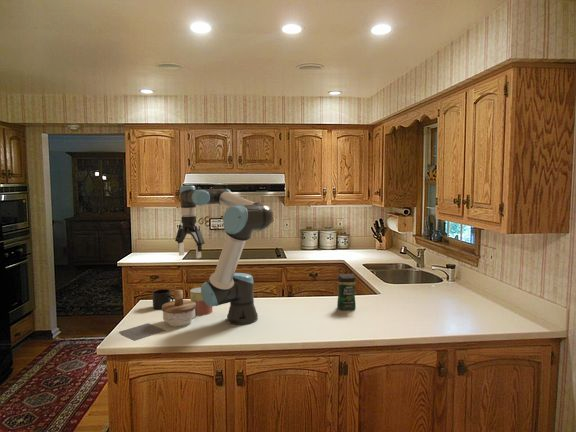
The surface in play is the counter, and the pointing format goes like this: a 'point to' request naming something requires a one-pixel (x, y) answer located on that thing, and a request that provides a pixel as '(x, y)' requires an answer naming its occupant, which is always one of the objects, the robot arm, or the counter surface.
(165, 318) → the speckled bowl
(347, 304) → the coffee jar
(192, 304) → the lid
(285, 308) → the counter surface
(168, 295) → the mug
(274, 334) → the counter surface
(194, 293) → the canned food
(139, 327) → the mat
